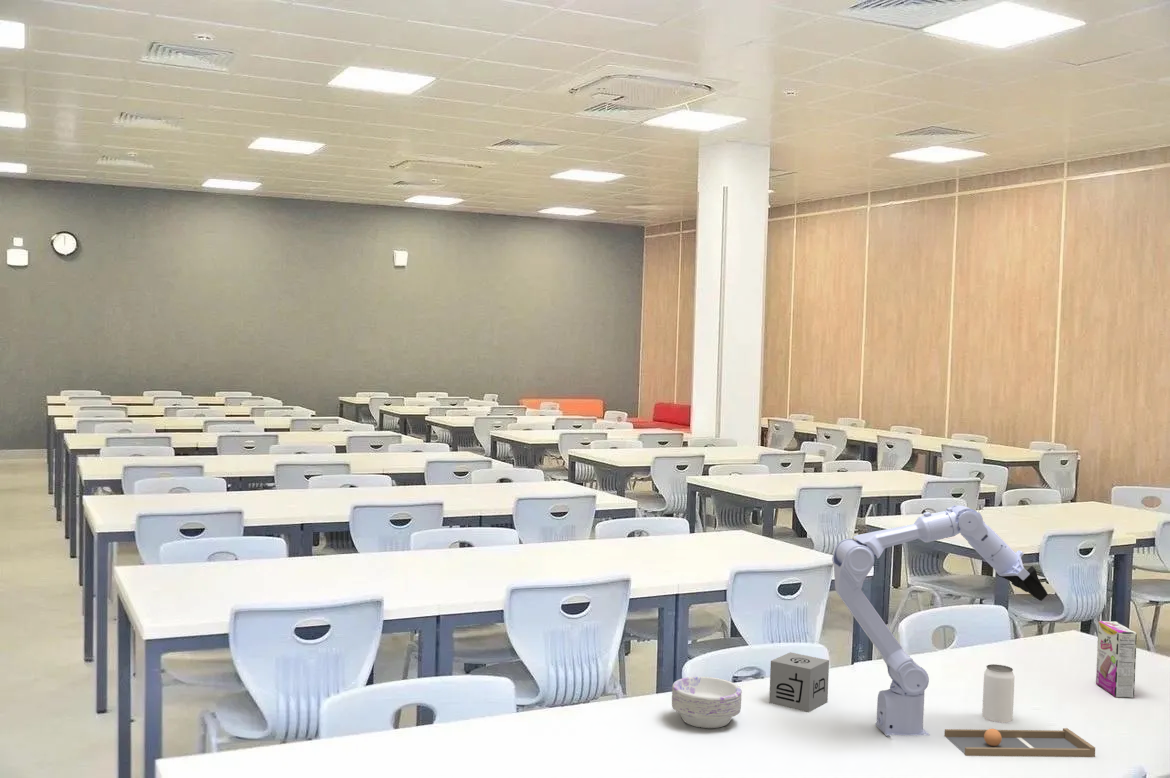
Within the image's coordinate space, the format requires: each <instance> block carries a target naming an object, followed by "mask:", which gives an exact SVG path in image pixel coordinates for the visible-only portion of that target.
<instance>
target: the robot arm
mask: <svg viewBox="0 0 1170 778" xmlns="http://www.w3.org/2000/svg"><path fill="white" fill-rule="evenodd" d="M959 534H960V535H961V536H962V537H963V538H964V540H965V541H967V542H968V544H969V545H970V546H971V547H972V549H974V551H976V553H978V554H979V556H980V557H982V558H983V559H984V560H985V561H986V562H987V564H988V565H989V566H990V567H991V568H992V569H993V570H994V571H995V572H996V576H998V577H999V578H1002V579H1005V580H1007V581H1009V582H1010V583H1011V584H1012V585H1013V586H1014V587H1016V588H1018V589H1020V590H1022V591H1023V592H1026V593H1028V594H1030V595H1031V596H1032V597H1034V599H1037V600H1039V601H1040V602H1042V601H1043V600H1044V599H1045V598H1046V597H1047V596H1048V592H1047V590H1046V588H1045V587H1044V586H1043V584H1042V583H1041V580H1040V579H1039V576H1038V573H1037V570H1036V568H1035V567H1034V566H1032V565H1031V566H1030V567H1029V568H1028V569H1026V568H1025V566H1024V563H1023V559H1022V557H1023V556H1024V554H1025V553H1024V552H1023V551H1022V550H1019V549H1018V550H1017V551H1016V552H1015V551H1014V550H1013V549H1012V547H1010V546H1009V545H1008V543H1006V541H1004V540H1003V538H1002V537H1000V536H999V535H998V534H997V533H996V531H995V530H993V528H991V526H990V525H988V524H986V522H985V521H984V519H983V515H982V514H981V512H979V511H977V510H975V509H973V508H970V507H967V506H965V505H958V504H957V505H955V504H954V505H952V506H950V507H947V508H946V509H945V510H944V511H939V512H934V513H931V512H929V511H926V512H923V515H922V516H918V517H917V519H915V521H914V523H913V524H907V525H902V526H896V527H891V528H887V529H882V530H881V529H879V530H876V531H870V532H866V533H861V534H857V535H854V536H852V538H845V539H842V540H840V541H839V542H838V543H837V545H836V546H835V548H834V551H833V554H832V558H831V560H832V565H833V574H834V589H835V592H836V593H837V595H838V596H839V598H840V599H841V601H842V602H843V603H844V605H845V607H846V608H847V609H848V611H849V612H850V613H851V615H852V616H853V618H854V620H856V622H857V623H858V624H859V626H860V627H861V629H862V631H864V633H865V635H866V636H867V637H868V639H869V640H870V642H871V643H872V645H874V647H875V649H876V650H877V651H878V652H879V654H880V656H881V658H882V660H883V661H884V663H885V665H886V668H887V673H888V676H889V677H890V679H891V680H892V681H891V683H890V685H889V688H888V689H885V690H883V689H882V690H879V692H878V695H877V699H876V701H877V703H876V704H877V705H876V722H875V723H874V725H875V726H877V728H878V729H879V730H880V731H881V733H883V734H884V735H885V736H886V737H891V736H930V734H929V732H928V731H926V730H925V729H924V717H925V716H924V715H925V714H924V711H925V691H926V689H927V688H928V686H929V683H930V678H929V674H928V673H927V671H926V669H924V668H923V667H921V666H920V665H919V664H917V663H916V662H915V661H914V660H913V658H912V657H910V655H909V654H908V653H907V652H906V650H905V649H904V648H903V647H902V645H901V644H900V642H899V641H898V639H897V638H896V637H895V635H894V634H893V633H892V631H891V630H890V628H889V627H888V626H887V625H886V622H884V620H883V619H882V617H881V616H880V614H879V613H878V611H877V610H876V609H875V607H874V606H873V604H872V603H871V602H870V600H869V599H868V598H867V596H866V595H865V593H864V591H863V590H862V589H863V585H864V581H865V579H866V578H867V576H868V574H869V573H870V572H871V570H872V568H873V567H874V564H875V558H876V559H880V557H881V556H882V554H883V552H884V550H885V549H887V548H890V547H894V546H897V545H901V544H905V543H909V542H912V541H915V540H920V541H922V542H923V543H926V544H927V543H931V542H935V541H936V542H937V541H939V540H943V539H947V538H948V539H949V538H952V537H955V536H956V535H959Z"/></svg>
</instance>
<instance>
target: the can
mask: <svg viewBox="0 0 1170 778" xmlns="http://www.w3.org/2000/svg"><path fill="white" fill-rule="evenodd" d="M985 666H986V669H985V671H984V672H983V673H984V674H983V692H982V693H983V694H982V709H981V710H982V718H984V719H985V720H987V721H990V722H995V723H1001V724H1002V723H1003V724H1004V723H1006V724H1007V723H1011V722H1013V720H1014V697H1015V675H1014V672H1013V671H1014V668H1012V667H1010V666H1007V665H1003V664H998V663H997V664H988V665H985Z"/></svg>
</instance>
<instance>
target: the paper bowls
mask: <svg viewBox="0 0 1170 778" xmlns="http://www.w3.org/2000/svg"><path fill="white" fill-rule="evenodd" d="M742 693H743V690H742V688H741V687H740V686H739V685H738V684H736V683H734V682H732V681H729V680H726V679H723V678H718V677H711V676H689V677H688V676H687V677H683V678H679V679H677V680H676V681H674V682H673V684H672V687H671V708H672V709H673V711H675V712H677V713H679V715H680V717H681V719H682V720H683V721H684V722H685V723H686V724H687V725H689V726H692V727H696V728H700V727H701V729H718V728H721V727H725V726H727V725H728V724H729V723H730V721H731V720H732V718H733V717H736V716H737V715H739V714H740V712H741V709H742Z"/></svg>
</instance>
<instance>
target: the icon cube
mask: <svg viewBox="0 0 1170 778" xmlns="http://www.w3.org/2000/svg"><path fill="white" fill-rule="evenodd" d="M769 673H770V675H769V697H768V698H769V699H768V703H769V704H771V705H777V706H780V707H784V708H788V709H793V710H795V711H796V710H797V711H800V712H805V713H811V712H812V711H814V710H816V709H818V708H820V707H822V706H823V705H826V704H827V703H828V702H829V701H828V699H829V698H828V696H829V673H830V659H824V658H820V657H815V656H810V655H805V654H800V653H795V652H791V651H789V652H788V653H785V654H783V655H780V656H778V657H776V658H774V659H772V660H770V671H769Z"/></svg>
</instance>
